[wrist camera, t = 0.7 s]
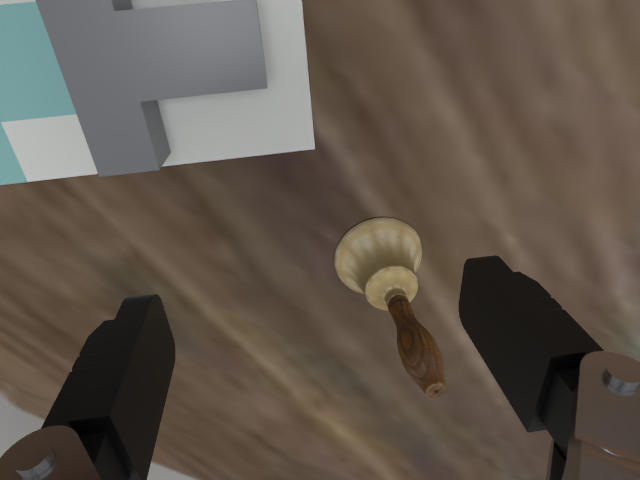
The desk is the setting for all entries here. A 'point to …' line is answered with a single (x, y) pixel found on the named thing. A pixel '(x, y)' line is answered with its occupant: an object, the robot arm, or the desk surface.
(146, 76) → the t block
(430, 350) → the hand bell
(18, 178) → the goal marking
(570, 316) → the robot arm
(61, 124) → the runner mat
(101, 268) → the desk surface
